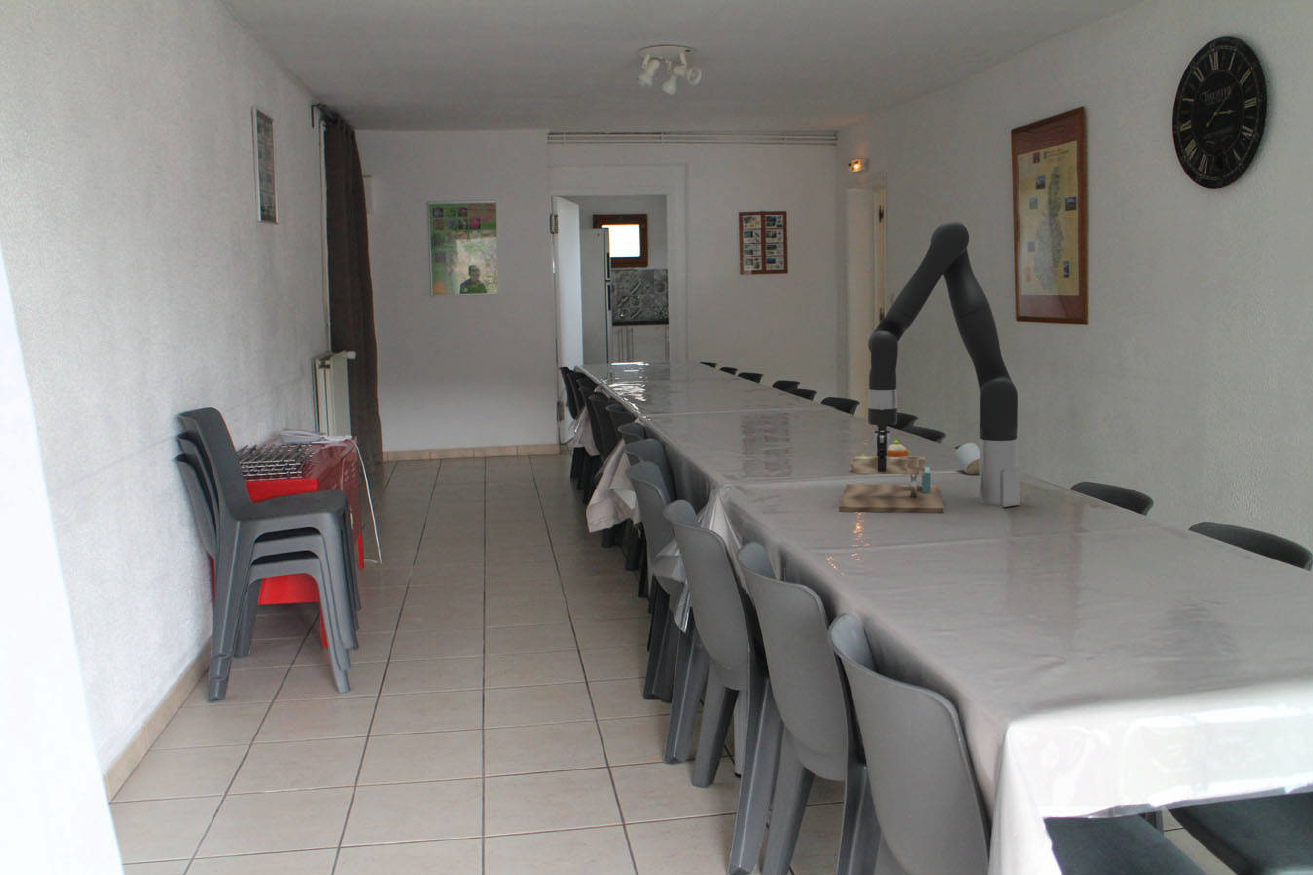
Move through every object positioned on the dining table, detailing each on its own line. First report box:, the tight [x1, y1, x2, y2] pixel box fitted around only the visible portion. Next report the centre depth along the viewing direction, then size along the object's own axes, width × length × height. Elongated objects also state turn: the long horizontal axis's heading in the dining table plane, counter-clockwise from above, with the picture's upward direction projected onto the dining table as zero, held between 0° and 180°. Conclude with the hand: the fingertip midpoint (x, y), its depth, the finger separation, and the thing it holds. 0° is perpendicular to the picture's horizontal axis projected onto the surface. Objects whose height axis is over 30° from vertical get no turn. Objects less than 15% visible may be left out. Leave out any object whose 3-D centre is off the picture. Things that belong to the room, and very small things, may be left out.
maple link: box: [852, 456, 926, 476], centre depth 275 cm, size 18×6×4 cm, turn 76°
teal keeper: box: [921, 466, 931, 493], centre depth 285 cm, size 8×12×6 cm
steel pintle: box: [910, 475, 918, 497], centre depth 274 cm, size 2×2×6 cm
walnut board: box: [839, 484, 944, 514], centre depth 277 cm, size 26×36×1 cm
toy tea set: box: [850, 439, 910, 472], centre depth 328 cm, size 26×16×10 cm, turn 155°
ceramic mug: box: [954, 442, 980, 475], centre depth 315 cm, size 11×8×8 cm
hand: (882, 470), depth 275 cm, fingers closed on maple link, 4 cm apart
